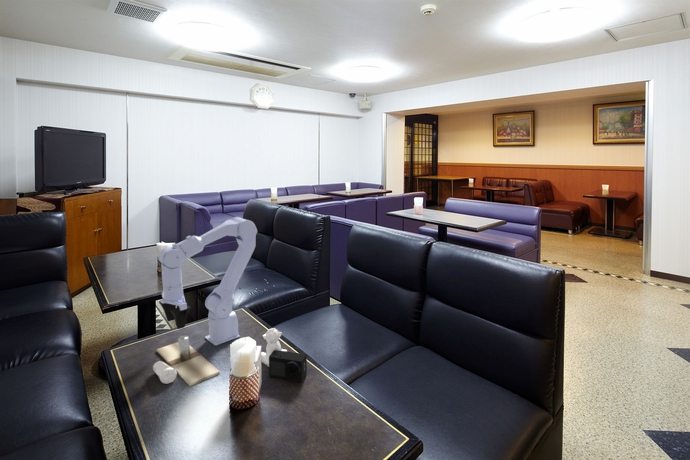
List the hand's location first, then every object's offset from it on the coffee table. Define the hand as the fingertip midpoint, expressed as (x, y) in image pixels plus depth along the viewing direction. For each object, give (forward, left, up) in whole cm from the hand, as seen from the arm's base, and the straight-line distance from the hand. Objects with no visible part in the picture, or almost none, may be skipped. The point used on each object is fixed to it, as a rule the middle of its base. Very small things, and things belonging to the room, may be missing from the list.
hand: (175, 323), depth 123 cm
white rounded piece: (+8, +7, -8) cm, 14 cm away
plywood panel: (+1, +8, -10) cm, 13 cm away
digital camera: (-17, +37, -10) cm, 42 cm away
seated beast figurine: (-19, +27, -10) cm, 35 cm away
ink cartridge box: (-6, +35, -10) cm, 37 cm away
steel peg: (+1, +7, -9) cm, 11 cm away
